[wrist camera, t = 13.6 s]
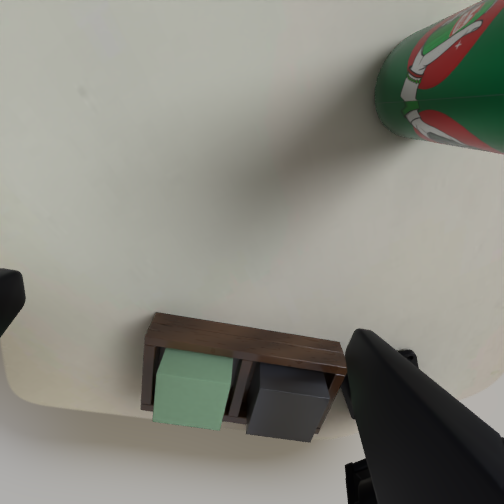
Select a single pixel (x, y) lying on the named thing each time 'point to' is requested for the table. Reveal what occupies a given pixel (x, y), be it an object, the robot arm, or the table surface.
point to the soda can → (448, 81)
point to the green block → (192, 389)
